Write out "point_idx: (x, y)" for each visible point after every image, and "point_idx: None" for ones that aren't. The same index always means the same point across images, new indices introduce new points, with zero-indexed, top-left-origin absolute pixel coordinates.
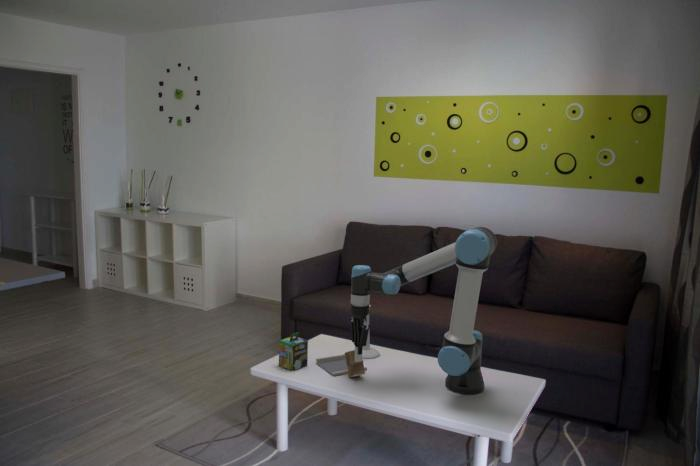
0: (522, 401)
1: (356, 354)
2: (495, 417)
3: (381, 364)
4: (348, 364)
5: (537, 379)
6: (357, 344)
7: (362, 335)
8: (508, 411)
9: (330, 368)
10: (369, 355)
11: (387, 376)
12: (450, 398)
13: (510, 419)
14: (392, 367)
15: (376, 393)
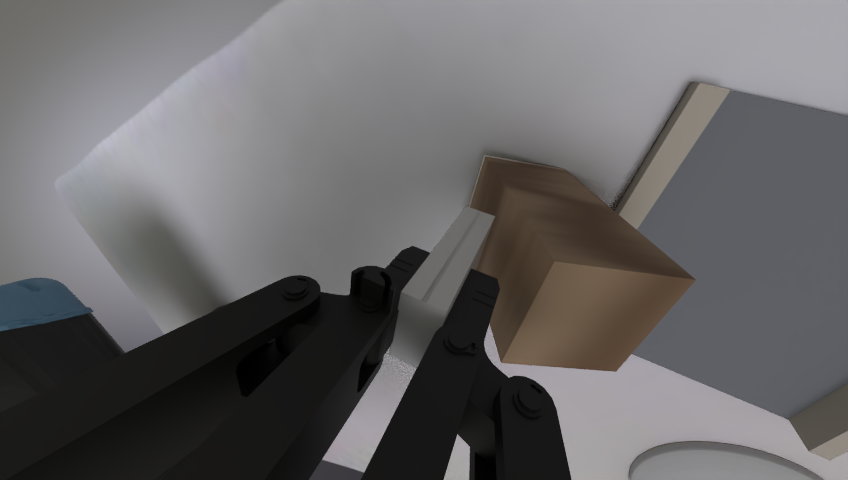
0: None
1: (441, 239)
2: (110, 236)
3: None
4: (578, 203)
5: None
6: (369, 313)
7: (2, 415)
8: (134, 279)
9: (840, 187)
10: (665, 471)
11: None
12: (204, 265)
13: (104, 247)
14: None
15: (304, 112)
